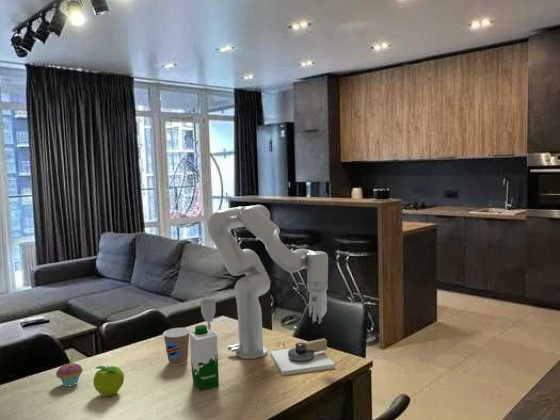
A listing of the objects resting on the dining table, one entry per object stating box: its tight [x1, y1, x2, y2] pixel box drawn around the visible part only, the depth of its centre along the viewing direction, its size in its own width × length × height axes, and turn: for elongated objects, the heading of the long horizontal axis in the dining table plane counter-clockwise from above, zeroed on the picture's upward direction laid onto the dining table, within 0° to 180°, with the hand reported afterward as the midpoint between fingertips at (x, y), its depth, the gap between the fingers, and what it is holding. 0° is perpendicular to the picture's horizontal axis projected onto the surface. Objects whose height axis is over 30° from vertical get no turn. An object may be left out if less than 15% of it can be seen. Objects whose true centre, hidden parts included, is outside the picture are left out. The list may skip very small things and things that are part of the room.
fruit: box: [93, 365, 125, 397], centre depth 159 cm, size 9×9×10 cm
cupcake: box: [55, 351, 83, 387], centre depth 169 cm, size 9×8×12 cm
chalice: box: [199, 298, 217, 331], centre depth 206 cm, size 7×7×18 cm
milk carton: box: [189, 324, 220, 391], centre depth 163 cm, size 9×9×20 cm
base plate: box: [269, 347, 336, 376], centre depth 181 cm, size 20×20×2 cm
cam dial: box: [288, 337, 328, 362], centre depth 182 cm, size 16×10×5 cm, turn 116°
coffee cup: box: [162, 327, 191, 366], centre depth 185 cm, size 10×10×12 cm
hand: (317, 332), depth 176 cm, fingers closed
